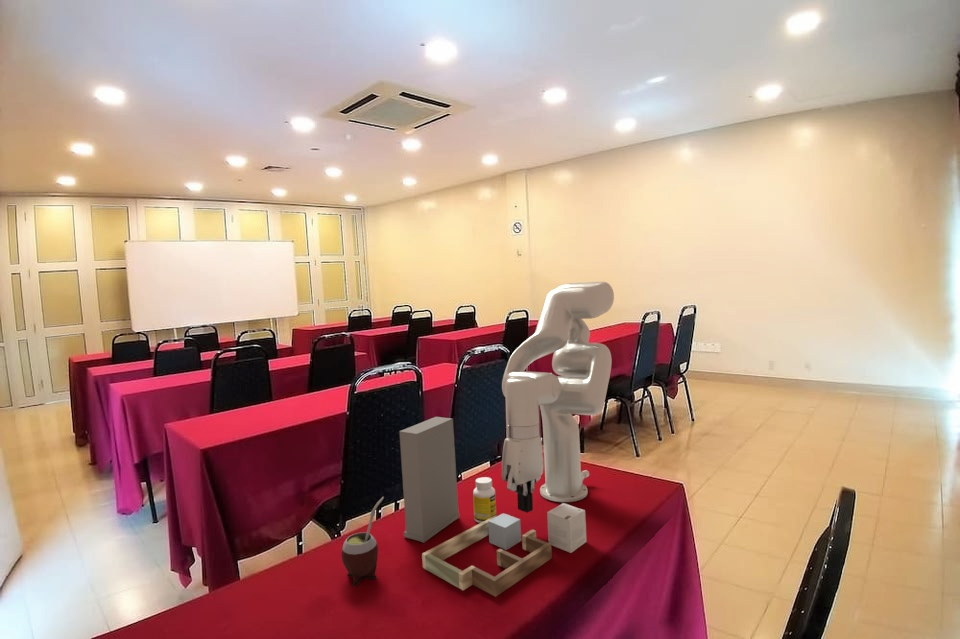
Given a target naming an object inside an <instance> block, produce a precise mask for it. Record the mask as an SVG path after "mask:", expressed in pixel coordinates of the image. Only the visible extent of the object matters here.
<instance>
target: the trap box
mask: <svg viewBox="0 0 960 639" xmlns="http://www.w3.org/2000/svg"><path fill="white" fill-rule="evenodd" d="M497 516H498V515H497V514H496V515H495V516H493V517H491V518H489V519H487V520H485V521H484V522H482V523H478V524H476V525H474V526H472V527H471V528H469V529H466V530H464V531H463V532H461V533H459V534H457V535H455V536H453V537H452V538H451V537H450V539H448V540H445V541H444V542H442V543H440V544H437V545H436V546H434V547H432V548H430V549H428V550H426V551H425V552H422V553H421V559H422V568H423V569H424V570H425V571H427V572H430V573H432V575H435V576H437V577H438V578H440V579H443V580H444V581H445V582H447V583H449V584H450V585H452V586H454V587H456V588H458V589H460V590H461V591H465V590H466V589H468V588H469V587H471V586H474V587H477V588H478V589H480V590H482V591H483V592H485V593H488V594H489V595H491V596H493V597H498V596H499V595H501V594H502V593H503V592H505V591H506V590H508V589H509V588H511V587H512V586H513V585H515V584H516V583H519V581H521V580H523V578H526V576H528V575H529V574H531V573H532V572H534V571H535V570H537V569H538V568H540V567H541V566H542V565H544V564H545V563H547V562H548V561H550V560H551V559H552V558H553V555H552V545H551V544H550V543H548V542H547V541H544V540H542V539H540V538H537V531H536V530H535V529H530V530H529V531H527V532H526V533H525V532H524V534H521V542H522V543H521V544H522V550H524V551H526V552H528V553H529V554H527V555H526V556H524V557H522V558H521V557H519V556H518V555H515V554H513V553H511V552H509V551H507V550H505V549H503V548H498V549H496V565H497V566H499V567H501V568H503V569H504V570H502V571H501V572H499V573H498V574H497V575H495V576H494V575H492V574H490V573H488V572H486V571H484V570H482V569H480V568H478V567H476V566H475V565H470V566H468V567H467V568H465V569H463V570H462V569H460V568H458V567H456V566H455V565H452V564H450V563H448V562H446V561H445V560H446V559H448V558H450V557H451V556H454V555H455V554H457V553H458V552H461V551H462V550H464V549H466V548H468V547H469V546H471V545H473V544H474V543H475V544H476V543H477V542H479V541H480V540H482V539H483V538H487V536H489V525H488V521H489V520H491V519H493V518H495V517H497Z"/></svg>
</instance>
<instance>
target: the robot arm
mask: <svg viewBox="0 0 960 639" xmlns="http://www.w3.org/2000/svg"><path fill="white" fill-rule="evenodd" d="M614 300H615V295H614V289H613V287H612V285H610V283H608V282H606V281H588V282H586V281H585V282H572V283H571V282H570V283H569V282H568V283H564V284H560V285H559V286H557V287H556V288H553V289H551V290H549V291H548V292H547V294H546V296H545V298H544V302H543V305H542V309H541V311H540V314H539V317H538V320H537V321H538V322H537V325H536V327H535V331H534V333H533V334H532V335H530V336H529V337H528V338H526V340H524V341H523V342H522V343H521V344H520V345H519V346H518V347H516V348H515V350H514V351H513V352H512V354H510V357H509V359H508V361H507V364H506V367H505V370H504V373H503V376H502V380H501V390H502V394H503V396H504V397H505V422H506V427H505V428H506V438H505V439H504V441H503V448H502V458H501V478H502V481H504V482H507V483H506V489H507V490H509V491H511V492H515V494H517V495H516V496H517V497H516V499H517V509H518V510H519V511H521V512H524V513H530V512H532V511H533V509H534V506H533V504H534V503H533V500H534V499H533V498H534V497H533V493H534V492H535V485H536V484H537V483H538V482H539V481H540V479H542V478H541V477H542V475H543V474H544V477H545V479H544V480H545V483H544V484H542V485H541V486H540V488H539V493H540V495H541V496H542V497H543V498H544V499H545V500H549V501H552V502H557V503H574V502H577V501H581V500H583V499H584V498H586V497H587V496H588V488H587V486H586V485H585V484H583V481H584V480H585V479H587V478H588V477H589V476H590V471H588V470H587V469H585V470H581V467H582V465H581V447H580V446H581V443H580V442H581V441H580V428H579V424H578V423H577V421H576V419H575V417H574V416H573V415H582V416H597V415H599V414H600V413H601V412H602V410H603V408H604V405H605V403H606V401H605V400H606V396H607V392H608V388H609V386H608V385H609V382H610V376H611V372H612V362H613V361H612V360H613V359H612V354H611V351H610V349H609V347H607V345H606V344H603V343H599V342H589V340H590V337H591V331H590V328H589V326H588V325H587V323H586V322H585V321H584V320H585V319H586V320H589V319H596V318H598V317H600V316H602V315H604V314H606V313H608V312H609V310H611V308H612V306H613V305H614ZM583 319H584V320H583ZM550 354H553V355H552V360H551V366H552V370H553V372H554V373H555V374H556V375H555V374H554V373H552V372H541V371H526V369H527V368H528V366H530V364H533V362H534V361H536V360H538V359H541V358H543V357H545V356H548V355H550ZM557 375H558V376H557ZM539 410H540V411H539ZM540 415H541V420H542V434H543V435H542V436H543V438H542V439H543V440H541V434H540ZM542 441H543V444H542ZM542 445H543V446H542Z"/></svg>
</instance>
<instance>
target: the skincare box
mask: <svg viewBox="0 0 960 639" xmlns="http://www.w3.org/2000/svg"><path fill="white" fill-rule="evenodd" d="M546 513H547V514H546V517H547V535H548V536H547V537H548V540H547V541H548V542H547V543H550V544H551V547H552V546H553V547H555V548H557V549H559V550H562V551H566V552H568V553H570V554H571V553H573V552H575V551H576V550H577V549H578V548H580V547H582V546H583V545H584V544H586V543H587V522H586V521H587V520H586V510H585V509H582V508H578V507H576V506H573V505H570V504H568V503H566V502H561V504H559V505H558V506H556V507H554V508H552V509H550V510H549V511H547V512H546Z"/></svg>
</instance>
